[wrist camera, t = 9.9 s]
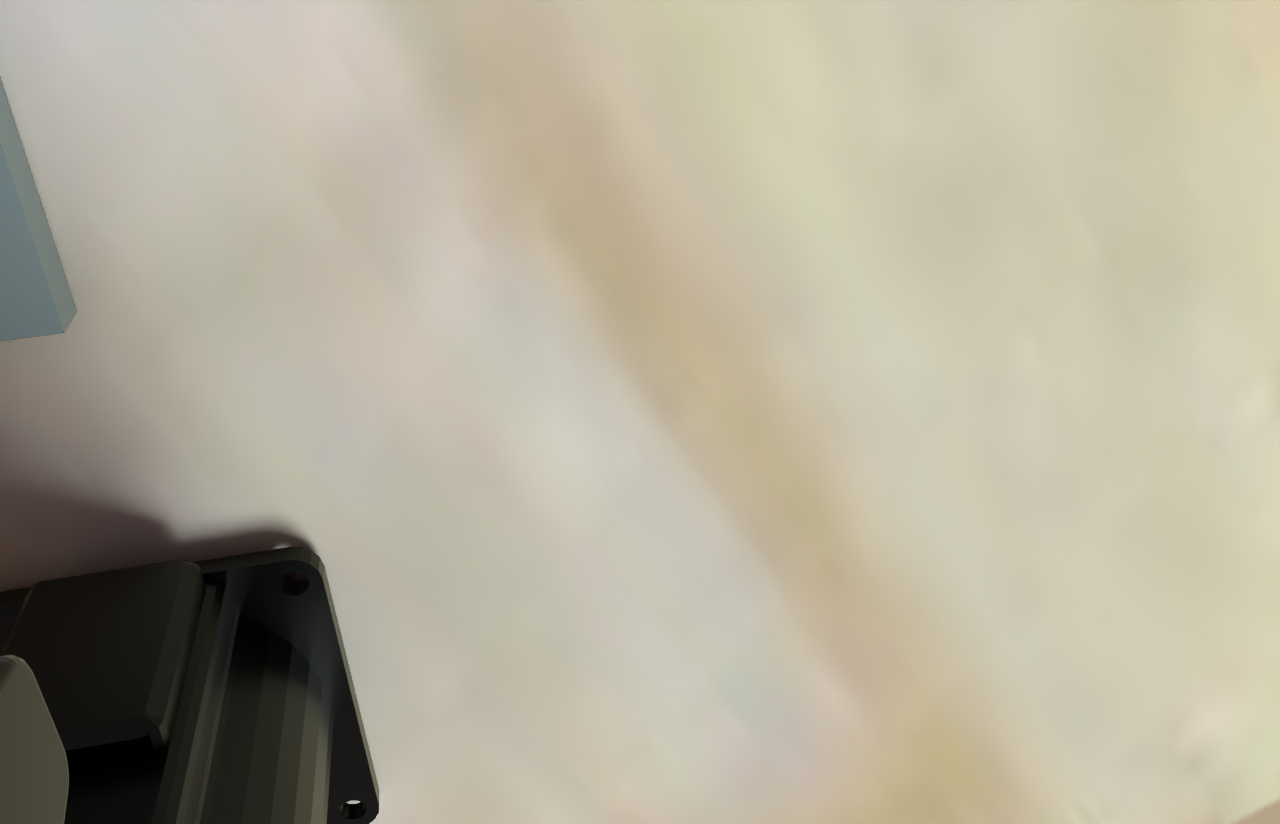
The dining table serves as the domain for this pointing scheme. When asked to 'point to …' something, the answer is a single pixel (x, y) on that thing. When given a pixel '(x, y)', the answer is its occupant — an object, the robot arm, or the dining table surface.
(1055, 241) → the dining table surface
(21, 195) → the board
